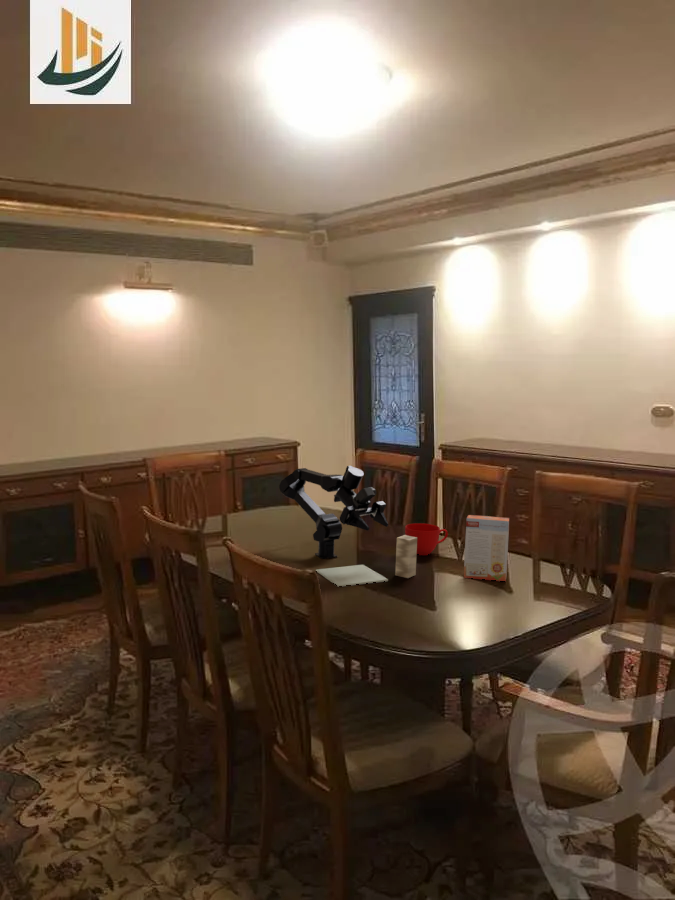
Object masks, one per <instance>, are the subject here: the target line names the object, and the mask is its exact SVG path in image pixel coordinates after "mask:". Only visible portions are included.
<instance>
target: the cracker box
mask: <svg viewBox="0 0 675 900" xmlns="http://www.w3.org/2000/svg"><path fill="white" fill-rule="evenodd" d="M465 526H466V527H465V537H464V538H465V544H464V561H463V562H464V563H463V565H464V567H463V578H464V579H471V578H473V579H472V580H482V579H485V580H484V581H491V580H496V581H495V582H500V581H505V582H506V580H507V571H508V570H507V569H508V552H509V535H510V534H509V531H510V517H501V516H500V517H499V516H498V517H497V516H490V515H489V516H488V515H473V514H468V515H467V517H466V523H465Z"/></svg>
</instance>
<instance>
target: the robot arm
mask: <svg viewBox="0 0 675 900" xmlns="http://www.w3.org/2000/svg"><path fill="white" fill-rule="evenodd" d="M364 474H365V473H364V471H363V470H362V469H360V468H357V467H354V466H353V465H347V466H346V468H345V471H344V474H325V473H321V472H319V471H315V470H311V469H308V468H306V467H302V468H296V469H295V470H294V471H293V472H292V473H290V474H289V475H287V476H286V477H284V479H282V480H281V481H280V483H279V486H278V487H279V488H278V489H279V492H281V494H282V495H283V496H285V497H286V498H289V499H291V500H294V501H295V502H296V503H297V504H298V505H299V506H300V508H301V509H302V510H303V511H304V512H305V513H306V514H307V516H309V517H310V518H311V520H312V521H313V522H314V523H315V529H316V530H315V531H314V533H313V534H312V538H313V540H314V541H316V542H318V552H315V553H314V555H315V556H317V557H318V558H319V559H321V560H323V559H324V560H325V559H332V558H334V557H335V558H338V555H337V554H335V540H340V537H341V535H342V531H343V526H342V525H346V526H351V527H355V528H358V529H362V530H365V531H369V530H370V527H369V525H368V524H367V523H366V522H365V520H364V519H363V518H362V517H363V516H364V517H365V516H368V515H369V517H370V518H371V519H372V520H373V521H374V522H377V523H378V524H380V525H382V526H383V527H387V528H388V526H389V523H388V520H387V518H386V515H385V512H384V511H385V509H386V507H387V503H385V502H384V501H383V500H381V501H380V500H379V501H375V502H373V503H372V505H371V501H370V500H371V499H373V497H375V496H376V495H377V490H376V489H375V488H374V487H372V486H370V487H369V486H368V487H365V488H364V487H363V488H362V489H360V490H359V491H358V492H356V491H354V490H357V489H358V488H359V486H360V484H361V481H362V479H363V477H364ZM306 482H308V483H310V484H314V485H317V486H320V487H321V489H322V490H324V491H326V492H328V493H331V492H332V493H333V492H336V493H335V494H334V495H333V496H334V497H333V502H334V503H339V502H341V503H342V504H343V505H344V506H345V507H343V509H342V512H341V513H340V516H339V518H338V517H337V516H336V515H335V514H334V513H328V514H326V513H325V511H324V510H322V508H321V507H320V506H319V505H318V504H317V503H316V502H315V501H314V500H313V499H312V498H311V497H310V496H309V494H307V492H306V491H305V484H306ZM370 505H371V507H369V506H370ZM335 558H334V559H335Z"/></svg>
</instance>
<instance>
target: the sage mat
mask: <svg viewBox="0 0 675 900" xmlns="http://www.w3.org/2000/svg"><path fill="white" fill-rule="evenodd" d="M316 571H317V573H318V574H319V575H321V576H322V577H323V578H325V580H328V581H329V582H331V583H332V584H333V583H334V584H333V585H335V584H336V585H337V586H336V585H335V586H336V587H338V588H340V587H339V586H342V587H347V586H346V585H351V586H357V585H356V584H359V585H365V584H366V583H368V584H374V583H373V582H376V583H383V582H384V581H385V582H389V578H386V577H385V576H384V575H382V574H380V573H378V572H377V571H374V570H373V569H371V568H369V567H368V566H366V565H365V564H355V565H347V566H338V567H328V568H319V569H315V572H316ZM385 582H384V583H385Z"/></svg>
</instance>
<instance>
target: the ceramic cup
mask: <svg viewBox="0 0 675 900" xmlns="http://www.w3.org/2000/svg"><path fill="white" fill-rule="evenodd" d="M442 532H445V535H444V537H443V538H441V539H440V540H439V538H440V534H441V533H442ZM404 535H407V536H412V537H417V554H419V555H418V556H428V554H429V555H431V553H432V552H433V551H434V550H435V549H436V547H437V545H439V544H441V543H442V542H444V541H446V539H447V538H448V536H449V532H448V530H447V529H445V528H440V527H439V526H437V525H435V524H430V523H422V522H421V523H418V522H417V523H408V524H406V525H405V527H404Z"/></svg>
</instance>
